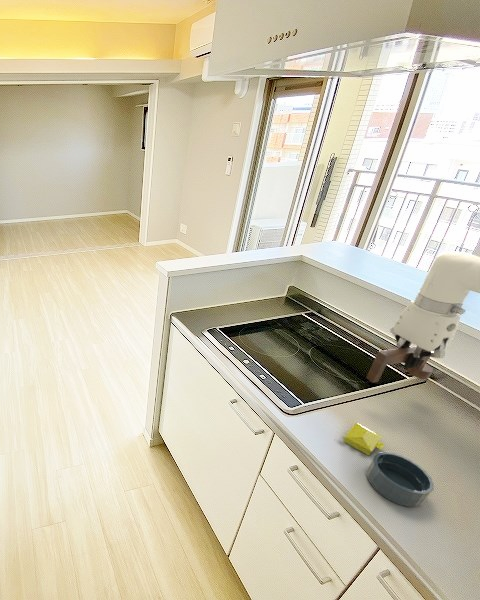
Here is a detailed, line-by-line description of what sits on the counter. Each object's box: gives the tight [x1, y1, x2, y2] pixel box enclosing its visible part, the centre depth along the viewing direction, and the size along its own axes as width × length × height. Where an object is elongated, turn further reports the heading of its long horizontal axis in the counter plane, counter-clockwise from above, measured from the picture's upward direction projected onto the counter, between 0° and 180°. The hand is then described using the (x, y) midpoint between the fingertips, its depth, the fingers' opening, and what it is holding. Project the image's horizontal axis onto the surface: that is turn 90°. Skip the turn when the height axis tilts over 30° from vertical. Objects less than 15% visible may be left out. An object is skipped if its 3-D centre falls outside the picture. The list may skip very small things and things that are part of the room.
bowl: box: [365, 451, 435, 508], centre depth 71 cm, size 10×10×5 cm
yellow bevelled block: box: [343, 422, 390, 456], centre depth 82 cm, size 10×9×3 cm
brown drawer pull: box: [365, 346, 434, 384], centre depth 88 cm, size 17×4×9 cm, turn 98°
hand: (404, 363), depth 87 cm, fingers closed on brown drawer pull, 2 cm apart
